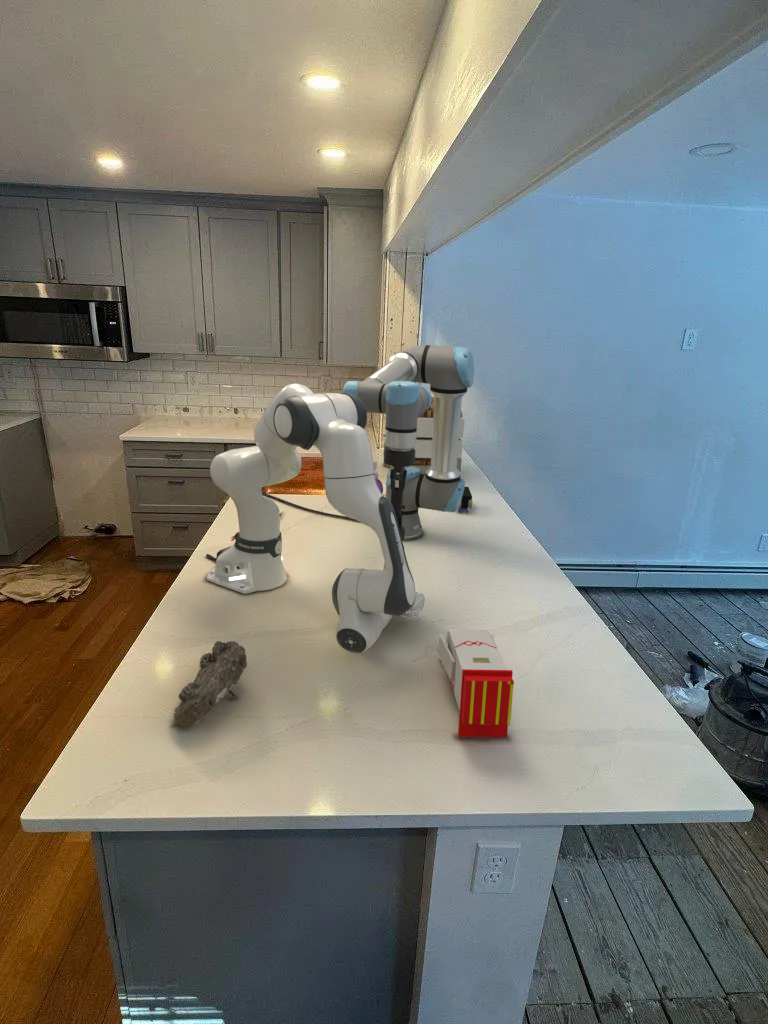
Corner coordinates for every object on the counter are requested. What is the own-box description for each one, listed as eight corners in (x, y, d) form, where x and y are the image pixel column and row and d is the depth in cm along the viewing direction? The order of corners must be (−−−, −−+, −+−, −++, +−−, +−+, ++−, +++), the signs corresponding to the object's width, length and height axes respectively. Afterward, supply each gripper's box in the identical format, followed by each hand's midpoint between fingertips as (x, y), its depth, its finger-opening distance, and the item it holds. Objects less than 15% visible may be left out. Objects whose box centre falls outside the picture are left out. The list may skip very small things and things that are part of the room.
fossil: (197, 643, 123) (246, 611, 118) (228, 672, 126) (277, 642, 121) (151, 720, 104) (207, 686, 99) (188, 752, 107) (245, 721, 102)
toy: (488, 613, 130) (523, 677, 101) (484, 667, 133) (517, 744, 104) (435, 612, 130) (455, 676, 101) (432, 666, 133) (451, 743, 103)
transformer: (382, 463, 289) (386, 382, 275) (445, 464, 293) (451, 384, 279) (390, 482, 257) (394, 392, 243) (460, 483, 261) (468, 394, 247)
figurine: (368, 501, 231) (369, 466, 226) (357, 494, 239) (358, 459, 234) (388, 499, 235) (390, 464, 230) (377, 492, 244) (378, 458, 239)
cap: (403, 541, 142) (403, 532, 141) (384, 539, 142) (385, 530, 141) (405, 534, 146) (405, 525, 145) (387, 533, 146) (387, 524, 146)
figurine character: (472, 517, 222) (467, 501, 236) (475, 500, 219) (469, 484, 233) (455, 517, 222) (451, 500, 236) (457, 499, 219) (452, 484, 232)
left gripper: (417, 605, 133) (432, 580, 145) (337, 588, 139) (358, 566, 151) (416, 628, 135) (430, 602, 147) (337, 611, 141) (357, 587, 154)
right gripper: (387, 438, 145) (383, 524, 153) (381, 455, 128) (377, 550, 136) (416, 440, 144) (411, 526, 152) (414, 457, 128) (408, 552, 136)
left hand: (393, 584), depth 149 cm, fingers closed on bottle, 5 cm apart
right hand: (395, 537), depth 144 cm, fingers closed on cap, 4 cm apart
